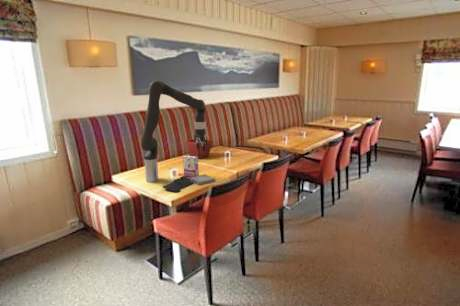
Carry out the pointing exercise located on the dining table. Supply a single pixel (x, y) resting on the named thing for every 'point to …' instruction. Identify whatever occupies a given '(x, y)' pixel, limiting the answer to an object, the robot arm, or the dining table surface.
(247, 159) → the dining table surface
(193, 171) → the candy bar box
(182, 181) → the dark slate chunk
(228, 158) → the dining table surface
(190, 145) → the plant pot
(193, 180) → the slate board
